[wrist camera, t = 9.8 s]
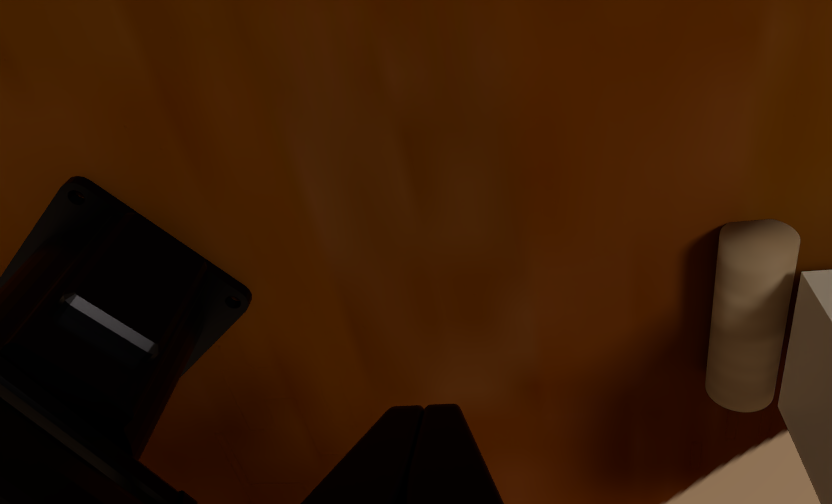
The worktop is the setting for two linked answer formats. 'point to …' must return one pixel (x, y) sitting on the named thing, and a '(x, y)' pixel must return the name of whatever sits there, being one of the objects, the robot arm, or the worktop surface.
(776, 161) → the worktop surface
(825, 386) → the slab
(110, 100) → the worktop surface
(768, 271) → the roller
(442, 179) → the worktop surface
